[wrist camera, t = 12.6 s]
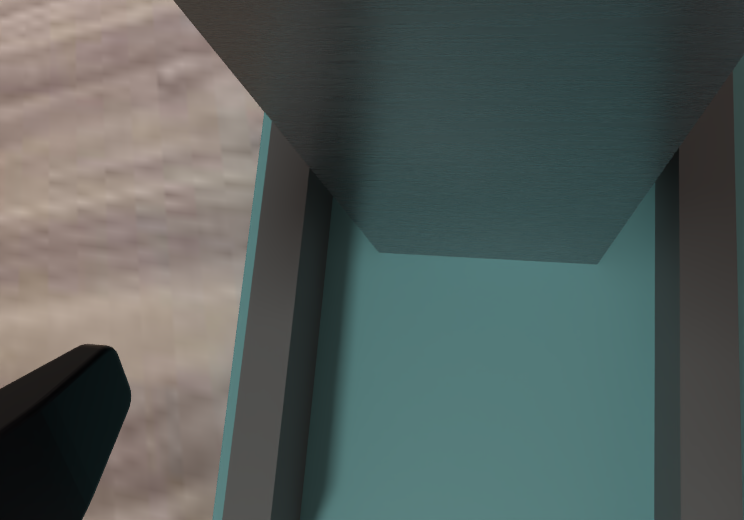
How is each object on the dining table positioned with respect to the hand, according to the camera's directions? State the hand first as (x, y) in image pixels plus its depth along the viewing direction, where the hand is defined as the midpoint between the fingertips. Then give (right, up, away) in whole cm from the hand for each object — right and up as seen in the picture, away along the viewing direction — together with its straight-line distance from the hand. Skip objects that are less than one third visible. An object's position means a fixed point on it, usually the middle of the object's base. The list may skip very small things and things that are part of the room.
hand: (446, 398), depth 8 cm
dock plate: (+2, +1, +11) cm, 12 cm away
